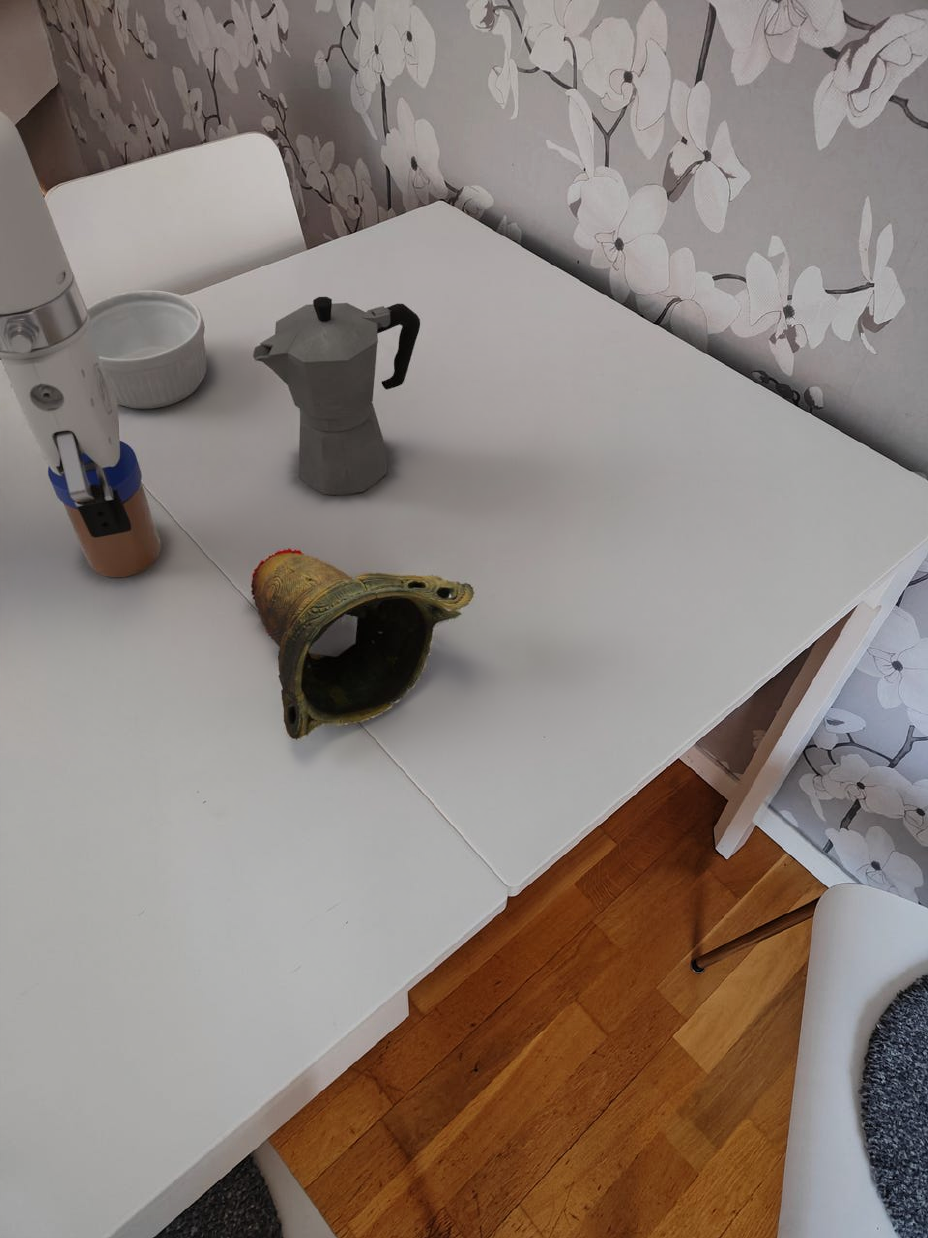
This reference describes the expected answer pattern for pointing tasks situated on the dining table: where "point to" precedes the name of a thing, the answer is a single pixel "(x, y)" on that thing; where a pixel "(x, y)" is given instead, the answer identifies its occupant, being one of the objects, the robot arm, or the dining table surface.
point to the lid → (120, 477)
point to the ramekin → (149, 346)
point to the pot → (385, 635)
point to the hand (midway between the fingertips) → (110, 500)
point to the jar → (121, 540)
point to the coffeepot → (338, 387)
